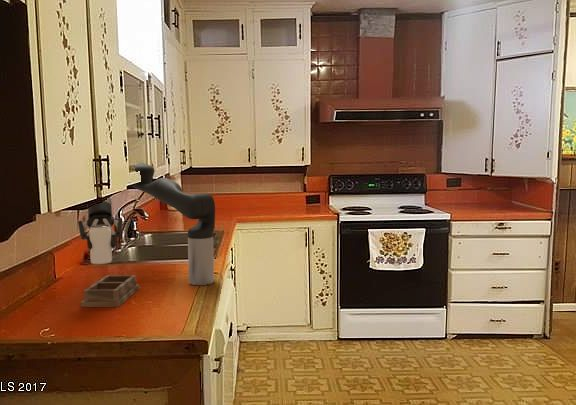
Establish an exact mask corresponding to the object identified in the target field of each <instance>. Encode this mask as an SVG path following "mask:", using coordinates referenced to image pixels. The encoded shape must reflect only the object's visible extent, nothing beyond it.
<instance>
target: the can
mask: <svg viewBox="0 0 576 405" xmlns="http://www.w3.org/2000/svg"><path fill="white" fill-rule="evenodd" d="M89 229H90V228H89ZM88 232H89V231H88ZM89 234H90V241H91V243H92V249H91V250H90V249H89V252H90V257H89V258H90V263H91V264H92V265H95V266H96V265H106V264H107V265H108V264H111V263H112V261H113V252H112V251H113V250H112V249H113V248H112V245H111V229H110V228H109V225H93V226H91V229H90V232H89Z"/></svg>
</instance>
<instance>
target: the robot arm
mask: <svg viewBox="0 0 576 405" xmlns="http://www.w3.org/2000/svg"><path fill="white" fill-rule="evenodd" d="M138 162H139V161H138ZM135 171H136V172H138V171H140V175H141V182H139V183H138V184H135V185H133V186H131V187H132V188H133V189H136V190H138V191H141V192H144V193H145V194H148V195H150V196H152V197H153V198H155V199H157V200H158V201H160V202H161V203H163V204H166V205H167V206H169V207H171V208H174V209H175V210H176V211H177V212H179V213H180V214H181V215H183V216H184V218H185V217H186V218H187V219H189V220H198V221H197V222H196V224H195V225H194V226H192V227H190V228H189V229H188V230H187V254H188V255H187V256H188V257H187V258H188V259H187V260H188V261H187V262H188V284H189V285H192V286H206V285H207V284H208V285H211V284H213V283H215V263H214V261H215V260H214V259H215V258H214V232H215V228H216V227H215V225H216V224H215V222H216V202H215V199H214V197H213V196H212V194H210V193H205V192H203V193H191V194H190V193H186V192H183V189H182V187H181V186H180V184H179V183H177V182H176V181H174V180H173V179H172V180H171V179H170V178H166V177H161V178H157V179H156V180H154V181H153V178H154V175H155V168H154V167H153V166H152V165H150V164H148V163H144V162H139V163H137V164H136V165H135ZM112 205H113V204H112V200H111V196H110V197H109V198H107V200H105V201H103V202H102V203H99V204H95V205H93V206H91V207H89V208H88V207H87V219H86V221H82V220H78V221H77V222H78V223H77V224H78V230H79V234H80V239H81V240H86V241H87V242H86V243H87V249H89V251H90V250H91V249H92V243H91V241H90V234H89V232H90V229H91V226H93V225H109V228H110V229H111V245H112V249H114V248H115V247H116V246H117V238H121V237H122V231H123V230H122V229H123V219H122V218H118V219H114V218H113V209H112ZM113 225H115V226H116V228H117V230H116V231H114V229H113ZM86 227H88V228H89V230H88V232H87V233H85V229H86ZM208 285H207V286H208Z"/></svg>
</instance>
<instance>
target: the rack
mask: <svg viewBox="0 0 576 405" xmlns="http://www.w3.org/2000/svg"><path fill="white" fill-rule="evenodd" d="M138 290H140V284H139V283H138V284H137V275H136V274H133V275H132V274H131V275H129V274H125V275H124V274H123V275H122V274H121V275H119V274H118V275H116V274H115V275H109V274H108V275H105V276H103V277H102V278H101V279H99V280H98V281H96V282H94V283H93V284H91V285H90V286H89V287H87V288H86V289H84V290H83V300H82V301H80V307H81V308H98V307H99V308H102V307H104V308H109V307H112V308H113V307H114V308H116V307H117V308H118V307H119V308H120V307H121V306H122V305H123V304H124V303H125V302H126V301H128V299H130V297H132V296H133V295H134V294H135V293H136V292H138Z"/></svg>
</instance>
